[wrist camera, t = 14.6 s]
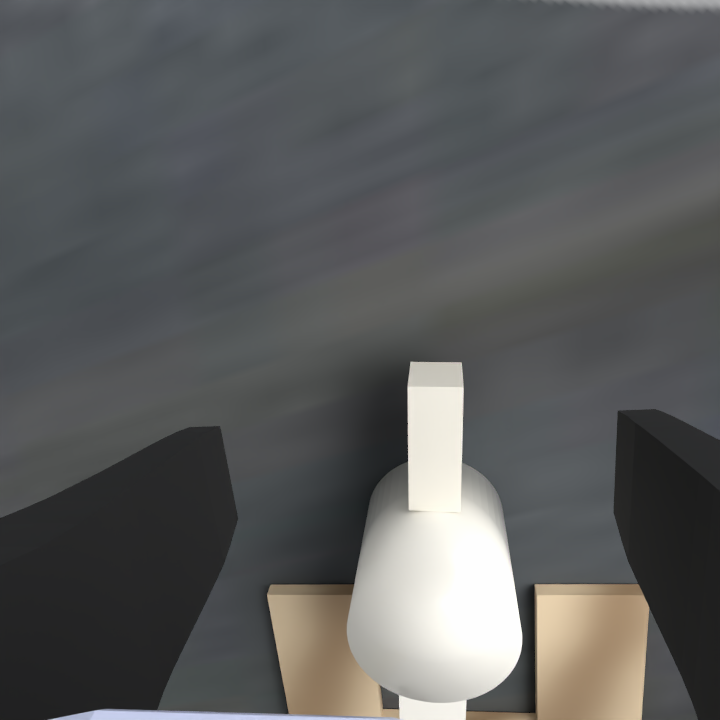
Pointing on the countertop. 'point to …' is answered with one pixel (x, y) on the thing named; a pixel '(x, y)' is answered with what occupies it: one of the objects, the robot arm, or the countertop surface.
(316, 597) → the dock
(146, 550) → the robot arm
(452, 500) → the white piece
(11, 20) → the countertop surface
